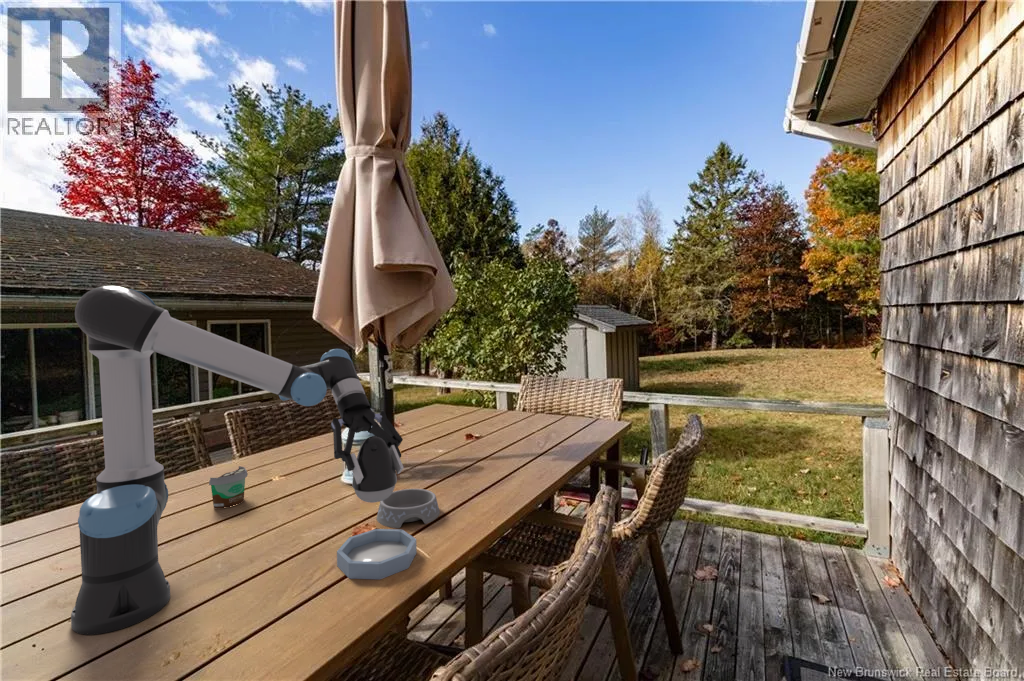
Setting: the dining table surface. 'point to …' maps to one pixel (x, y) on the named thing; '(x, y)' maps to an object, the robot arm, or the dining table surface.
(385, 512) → the dog bowl
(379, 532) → the bowl
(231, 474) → the food container
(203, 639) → the dining table surface
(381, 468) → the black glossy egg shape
